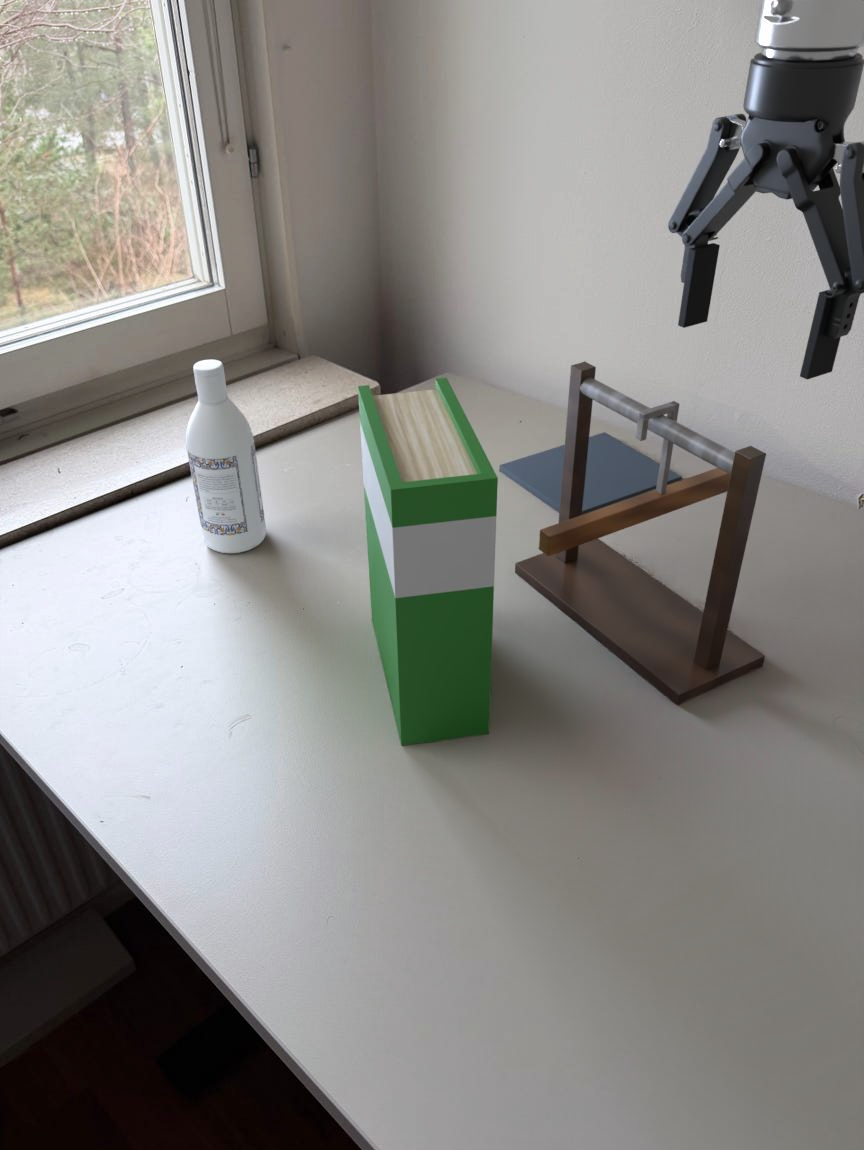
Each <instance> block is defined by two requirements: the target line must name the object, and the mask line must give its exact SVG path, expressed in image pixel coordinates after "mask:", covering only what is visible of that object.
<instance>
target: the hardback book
mask: <svg viewBox="0 0 864 1150" xmlns="http://www.w3.org/2000/svg"><path fill="white" fill-rule="evenodd" d="M357 397H358V398H357V399H358V412H359V413H358V414H359V429H360V430H359V432H360V447H361V464H362V478H363V479H362V481H363V494H364V495H363V496H364V509H365V510H364V512H365V527H366V528H365V530H366V543H367V544H366V545H367V559H368V560H367V561H368V579H369V593H370V594H369V596H370V611H371V612H370V613H371V623H372V628H373V631H374V635H375V636H374V637H375V640H376V644H377V648H378V652H379V657H380V660H381V665H382V670H383V673H384V678H385V682H386V686H387V691H388V695H389V699H390V703H391V708H392V713H393V716H394V721H395V724H396V729H397V733H398V737H399V738H398V739H399V741H400V745H401V746H409V745H417V744H424V743H431V742H439V741H445V740H447V741H448V740H454V739H463V738H468V737H476V736H482V735H489V734H490V711H491V683H492V652H493V626H494V625H493V624H494V600H495V599H494V597H495V596H494V595H495V571H496V568H495V567H496V544H497V543H496V542H497V541H496V540H497V539H496V537H497V514H498V511H497V510H498V484H499V483H498V481H499V478H498V476H497V473H496V471H495V469H494V468H493V466H492V464H491V462H490V459H489V458H488V456H487V454H486V452H485V449H484V448H483V446H482V444H481V442H480V440H479V439H478V437H477V435H476V432H475V430H474V428H473V427H472V424H471V422H470V420H469V419H468V417H467V414H466V413H465V411H464V408H463V407H462V405H461V403H460V401H459V399H458V397H457V394H456V393H455V391H454V389H453V387H452V385H451V383H450V382H449V379H448V378H447V377H438V378H435V388H434V389H425V390H415V391H406V392H396V393H395V392H394V393H387V394H386V393H385V394H376V395H373V392H372V390H371V388H370V384H366V385H358V386H357Z"/></svg>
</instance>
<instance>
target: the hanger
mask: <svg viewBox="0 0 864 1150" xmlns="http://www.w3.org/2000/svg"><path fill="white" fill-rule="evenodd" d="M649 408H650V409H647V410H643V411H640V412H639V415H638V423H636V431H635V432H636V433H635V439H636V440H638V441H640V442H642V441H645V440H647V435H648V421H649V419H652V418H655V417H658V416H661V415H664V416H665V415H666V417H668V418H670V419H672V420H674V421H676V422H678V417H679V411H680V403H679V402H677V401H675V400H672V401H670V402H665V403H662V404H660V405H659V404H658V405H657V406H654V407H649ZM662 439H663V440H662V446H661V454H660V460H659V464H660V467H659V473H658V480H657V487H656V489H655V490H652V491H649V492H646V493H644V494H641V495H638V496H635V497H632V498H629V499H626V500H624V501H621V502H618V503H615V504H612V505H609V506H606V507H604V508H601V509H598V510H595V511H592V512H589V513H586V514H584V515H581V516H578V517H575V518H572V519H569V520H566V521H563V522H561V523H559V522H558V523H555V524H552V525H550V526H546V527H544V528H540V530H539V540H538V541H539V543H538V550H539V551H540V552H542V553H544V554H546V555H547V556H551V555H554V554H556V553H559V552H562V551H565V550H567V549H570V548H573V547H576V546H578V545H581V544H584V543H587V542H589V541H592V540H595V539H600V538H603V537H606V536H608V535H612V534H614V533H617V532H620V531H623V530H625V529H628V528H631V527H633V526H636V525H639V524H641V523H645V522H647V521H650V520H652V519H655V518H659V517H661V516H664V515H666V514H670V513H673V512H674V511H678V510H680V509H683V508H685V507H686V508H687V507H689V506H691V505H694V504H696V503H700V502H702V501H705V500H707V499H711V498H713V497H715V496H719V495H722V494H725V493H727V490H728V485H729V480H730V474H728V473H726V472H724V471H723V470H721V469H719V468H717V467H715V468H713V469H710V470H707V471H704V472H701V473H698V474H695V475H692V476H689V477H687V478H684V479H681V481H678V482H675V483H672V484H669V485H667V482H668V476H669V469H670V468H671V462H672V455H673V448H674V444H673V443H671V442H670V441H668V440H666V439H664V438H662ZM670 470H671V469H670Z"/></svg>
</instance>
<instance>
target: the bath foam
mask: <svg viewBox="0 0 864 1150" xmlns="http://www.w3.org/2000/svg"><path fill="white" fill-rule="evenodd" d="M192 368H193V369H192V370H193V374H194V375H193V376H194V382H195V388H196V393H197V398H198V401H197V403H196V405H195V407H194V409H193V411H192V413H191V415H190V418H189V421H188V423H187V427H186V434H185V444H186V452H187V458H188V463H189V469H190V475H191V481H192V486H193V490H194V496H195V501H196V506H197V507H196V508H197V513H198V518H199V523H200V524H199V525H200V527H201V534H202V538H203V542H204V544H205V545H206V546H207V547H208V548H209V549H211V550H213V551H215V552H218V553H221V554H239V553H244V552H248V551H251V550H253V549H254V548H256V547H258V546H259V545H261V543H263V541H264V539H266V535H267V526H266V519H265V510H264V503H263V495H262V489H261V481H260V473H259V465H258V459H257V451H256V445H255V443H256V442H255V438H254V434H253V430H252V427H251V425H250V423H249V421H248V420H247V417H245V414H243V412H242V411H241V410H240V408H239V407H238V406H237V404H235V402H233V401H232V400H231V399H230V398H229V396H228V390H227V382H226V376H225V375H226V374H225V368H224V365H223V362H222V361H221V360H218V359H203V360H199V361H197V362H195V363H194V364H193V367H192Z"/></svg>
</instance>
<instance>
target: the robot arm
mask: <svg viewBox="0 0 864 1150" xmlns="http://www.w3.org/2000/svg"><path fill="white" fill-rule="evenodd" d="M758 11H759V12H758V18H757V23H756V30H755V37H754V43H755V44H756V46H757V47H759V48H761V52H758V53H756V54H755V55H754V56H753V58H752V59H750V61H749V67H748V74H747V80H746V87H745V92H744V98H743V107H742V108H743V110H744V112H745V113H746V114H747V115H748V116H747V117H748V118H747V117H746V115H745V114H744V113H736V114H730V115H725V116H719V117H716V118H715V119H714V120H713V121H712V124H711V128H710V133H709V136H708V140H707V144H706V145H707V146H706V148H705V150H704V152H703V154H702V156H701V158H700V160H699V162H698V164H697V166H696V168H695V170H694V172H693V174H692V175H691V177H690V180H689V181H688V183H687V185H686V187H685V190H684V191H683V194H682V195H681V197H680V199H679V201H678V202H677V205H676V207H675V209H674V211H673V213H672V215H671V217H670V219H669V220H668V224H667V228H668V231H669V232H670V233H671V234H678V235H679V236H680V237H681V241H682V244H683V245H684V250H683V256H682V257H683V258H682V263H681V271H680V282H681V283H682V284H683V289H682V295H681V301H680V309H679V314H678V315H679V316H678V322H677V326H679V327H681V328H683V329H685V328H689V327H692V326H696V325H699V324H703V323H707V322H708V318H709V312H710V307H711V300H712V295H713V289H714V283H715V275H716V271H717V270H716V269H717V264H718V258H719V254H720V253H719V250H720V247H721V244H718V243H715V242H712V241H715V240H718V239H719V237H718V233H719V232H720V231H722V229H723V228H724V227H725V226H726V225H727V223H729V222H730V220H731V219H732V218H733V217H734V216H735V215H736V214H737V213H738V212H739V211H740V209H742V207H743V206H744V205H745V204H746V203H747V202H748V201H749V200H750V199H751V198H752V196H754V194H755V193H760V194H773V195H774V196H776V197H778V198H780V199H782V200H792V202H793V205H794V206H795V208H796V209H797V210H798V211H800V212H802V214H803V217H804V220H805V223H806V225H807V229H808V232H809V234H810V237H811V239H812V242H813V245H814V248H815V251H816V253H817V257H818V259H819V262H820V264H821V267H822V270H823V272H824V276H825V278H826V281H827V285H828V287H829V289H826V290H823V291H819V292H818V296H817V301H816V305H815V310H814V314H813V318H812V322H811V327H810V331H809V335H808V339H807V342H806V348H805V353H804V355H803V356H804V357H803V360H802V365H801V370H800V374H799V377H800V378H802V379H805V380H811V379H814V378H817V377H819V376H823V375H825V374H829V373H832V372H833V369H834V365H835V361H836V358H837V353H838V350H839V346H840V341H841V337H844V336H845V337H846V336H848V334H849V333H850V331H851V330H852V327H853V324H854V319H855V316H856V311H857V308H858V305H859V299H860V297H861V295H862V294H864V140H862V141H846V140H845V124H846V122H847V120H848V118H849V117H850V115H851V113H852V112H853V110H854V109H855V106H856V102H857V97H858V93H859V89H860V84H861V80H862V75H863V71H864V58H863V56H864V55H862V54H861V53H860V52H858V51H859V49H860V48H862V47H864V0H760V6H759V10H758ZM740 149H741V150H742V154H743V157H744V158H743V159H742V160H741V161H740V162H739V164H738V165H737V166H736V167H735V169H733V171H732V172H731V173H730V174H729V175H728V176H727V174H728V172H729V171H730V170H731V167H732V166H733V163H734V162H735V160H736V158H737V156H738V154H739V152H740ZM834 168H835V169H834ZM837 174H839V179H838V178H837V176H836V175H837ZM726 177H727V178H726ZM725 178H726V180H727V182H726V183H725V185H724V186H722V188H721V189H720V187H721V185H722V184H723V182H724V180H725ZM817 187H818V190H815V189H817ZM719 189H720V190H719ZM718 191H719V192H718ZM709 242H710V243H709ZM711 242H712V243H711Z"/></svg>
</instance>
